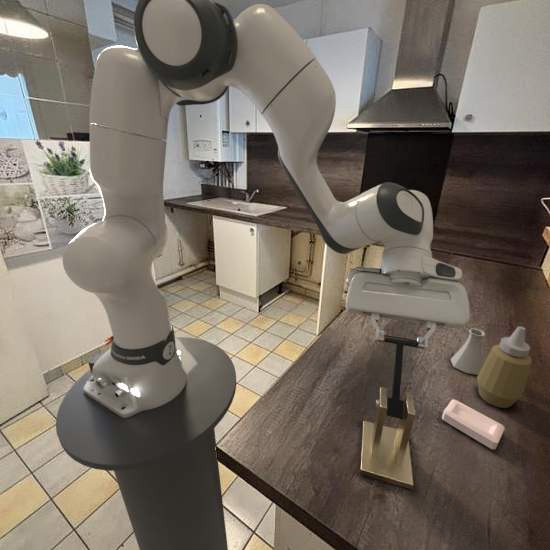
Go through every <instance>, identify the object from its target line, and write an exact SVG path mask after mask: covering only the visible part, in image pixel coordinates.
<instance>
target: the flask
mask: <svg viewBox="0 0 550 550" xmlns="http://www.w3.org/2000/svg"><path fill="white" fill-rule="evenodd" d="M468 333H469V335H468V337H467V339H466V341H465V342H464V343H463V345H462V346H461V347H460V349H458V350H457V351H456V353H454V354H453V355H452V357H450V359H449V360H450V362H451V364H452V367H453V368H455V369H457V370H459V371H461V372H463V373H465V374H469V375H476V376H478V374H479V372H480V370H481V368H482V366H483V364H484V361H483V353H482V340H483V338H484V337H485V336H486V333H485V332H484V330H481V329H478V328H474V327H471V328H470V329H469V330H468Z"/></svg>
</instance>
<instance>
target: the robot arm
mask: <svg viewBox="0 0 550 550" xmlns="http://www.w3.org/2000/svg"><path fill="white" fill-rule="evenodd" d="M133 31H134V32H133V33H134V38H135V42H136V46H137V48H132V47H129V46H124V45H113V46H110V47H106V48H105V49H103V50H102V51H101V52H100V53H99V54H98V56H97V58H96V62H95V68H94V72H93V77H92V82H91V83H92V84H91V91H90V100H89V101H90V102H89V173H90V174H89V175H90V177H91V179H92V181H93V183H95V185H96V186H97V187H98V189H99V192H100V196H101V198H102V203H103V208H104V215H103V218H102V220H100V221H98V222H96V223H93V224H91V225H89V226H87V227H85V228H83V229H82V230H80V231H79V233H77V234H76V236H75V237H74V238H72V239H71V241H70V242H69V243H68V244H67V245H66V247H65V248H64V251H63V253H62V267H63V270H64V273H65V274H66V275H67V277H68V278H69V280H70V281H71V282H72V283H73V284H75V285H76V286H77V287H78V288H80V289H82V290H83V291H86V292H89V293H91V294H94V295H95V296H96V297H97V299H98V300H99V302H100V303H101V305H102V307H103V308H104V310H105V313H106V316H107V319H108V322H109V326H110V330H111V334H112V335H111V336H110V337H108V338H107V339H105V340H104V343H105V346H108V345H110V344H111V347H110V348H109V349H108V350H103V351H101V352H100V353H99V354H97V355H96V356H94V358H92V359H91V360H89V362H87V363H88V367H89V370H91V373H93V375H92V376H91V378H90V379H89V380H88V381H87V382H86V384H85V386H84V388H83V390H84V393H85V394H87V395H88V396H90V397H91V398H93V399H94V400H96V401H97V402H99V403H100V404H102V405H104V406H105V407H107V408H108V409H110V410H111V411H113V412H114V413H116V414H117V415H119V416H121V417H122V418H127V417H130V416H132V415H135V414H137V413H139V412H141V411H144V410H149V409H153V408H157V407H159V406H162V405H164V404H166V403H168V402H170V401H171V400H173V399H174V398H175V397H176V396H177V395H178V394H179V393H180V392H181V391H182V390H183V388H184V387H185V384H186V381H187V376H186V373H185V371H184V369H183V367H182V361H181V358H180V357H179V355H180V351H177V349H176V344H175V343H176V341H175V337H176V335H175V330H174V326H173V325H172V323H171V318H170V313H169V307H168V299H167V296H166V294H165V293H164V292H163V291H162V290H161V289H159V287H158V286H157V283H156V282H155V279H154V276H153V269H152V266H153V263H154V261H155V260H156V259H158V257H159V256H160V255H161V254H162V253H163V252H164V249H165V247H166V244H167V241H168V236H169V230H168V227H167V224H166V210H165V199H164V179H165V167H166V154H167V144H168V141H167V140H168V131H169V130H168V128H169V120H170V114H171V112H172V109H173V108H174V106H175V105H177V106H179V107H181V106H195V105H197V106H198V105H207V104H212V103H215V102H217V101H218V100H220V99H221V98H222V97H223V96H224V95H225V94H226V92H228V89H229V87H232V88H234V89H236V90H239V91H240V92H242V93H243V95H245V96H246V97H247V98H248V99H249V100H250V102H251V103H252V105H254V106H255V108H256V110H257V111H258V113H260V115H262V117H263V118H264V120H265V122H266V123H267V125H268V126H269V128H270V130H271V132H272V134H273V136H274V138H275V142H276V144H277V148H278V149H277V156H278V161H279V164H280V165H281V167H282V169H283V171H284V173H285V175H286V176H287V178H288V180H289V181H290V183H291V185H292V187H293V188H294V190H295V191H296V193H297V195H298V196H299V198H300V199H301V201H302V202H303V204H304V206H305V207H306V209H307V210H308V212H309V214H310V215H311V217H312V219H313V221H314V223H315V224H316V227H317V228H318V231H319V234H320V236H321V238H322V240H323V242H324V243H325V245H326V246H327V247H328V248H330V249H331V250H332V251H334V252H336V253H337V254H340V255H346V254H350V253H352V252H355V251H357V250H359V249H361V248H363V247H367V246H371V245H373V244H377V243H381V244H383V246H384V249H383V251H382V254H381V263H380V268H377V267H364V266H356V267H354V268H352V269H350V270H349V271H348V272H347V277H346V284H347V286H348V289H347V293H346V298H345V303H344V307H345V310H346V311H347V312H348V313H349V314H353V315H361V316H368V317H370V319H369V323H370V324H371V325H370V326H372V329H373V331H374V342H379V343H385V342H384V335H386V331H385V330H383V329H382V330H381V329H380V326H379V324H378V322H379V321H380V318H381V319H388V320H395V321H402V322H406V323H407V322H408V323H414V324H421V325H424V326H423V329H424V330H425V331H426V332H425V334H424V335H423V336H418V337H416V340H417V341H418V345H417V348H416V349H419V350H426V351H427V350H428V348H429V339H430V338H431V336H432V335H433V334H434V333H435V331H436V330H437V327H442V328H448V329H454V330H459V329H462V328H463V327H465V326H466V325H468V324H469V322H470V319H471V317H470V316H471V314H470V303H469V296H468V293H467V290H466V288H465V286H464V285H463V284H462V283H460V282H461V280H462V278H463V270H462V268H459V267H456V266H455V265H451V264H449V263H445V262H443V261H440V260H438V259H436V258H434V257H433V252H432V249H431V244H432V242H433V239H434V217H433V216H434V215H433V209H432V205H431V200H430V199H429V197H428V196H427V195H426V194H425V193H423V192H421V191H419V190H415V189H408V188H406V187H404V186H402V185H400V184H398V183H396V182H391V181H386V182H383V183H380V184H378V185H376V186H374V187H372V188H370V189H368V190H366V191H363V192H362V193H360V194H358V195H357V196H354V197H353V198H350V199H348V200H346V201H339V200H338V199H336V197H335V196H334V194H333V192H332V190H331V189H330V187H329V185H328V184H327V182H326V180H325V178H324V176H323V175H322V173H321V171H320V169H319V165H318V153H319V150H320V148H321V146H322V144H323V142H324V140H325V138H326V136H327V135H328V133H329V131H330V129H331V126H332V125H333V121H334V118H335V112H336V105H337V99H336V91H335V88H334V86H333V83H332V81H331V79H330V77H329V75H328V73H327V72H326V70H325V69H324V67H323V66H322V64H321V63H320V62H319V60H318V59H317V57H316V55H315V54H314V53H313V51H312V50H311V48H310V47H309V46H308V45H307V43H306V42H305V41H304V40H303V38H302V37H301V36H300V35H299V34H298V32H297V31H296V30H295V29H294V28H293V27H292V25H291V24H290V23H289V22H288V21H287V20H286V19H285V18H284V17H283V16H282V15H281V14H280V13H279V12H278V11H277V10H276V9H275V8H273V6H270V5H268V4H265V3H257V4H256V3H255V4H253V5H251V6H249V7H247V8H245V9H243V11H241V12H240V13H239V14H238V15H237V17H236V18H234V19H233V16H232V14H231V12H230V10H229V9H228V8H227V6H225V5H223V4H221V3H219V2H216V1H214V0H138V2H137V4H136V5H135V10H134V15H133Z"/></svg>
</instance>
